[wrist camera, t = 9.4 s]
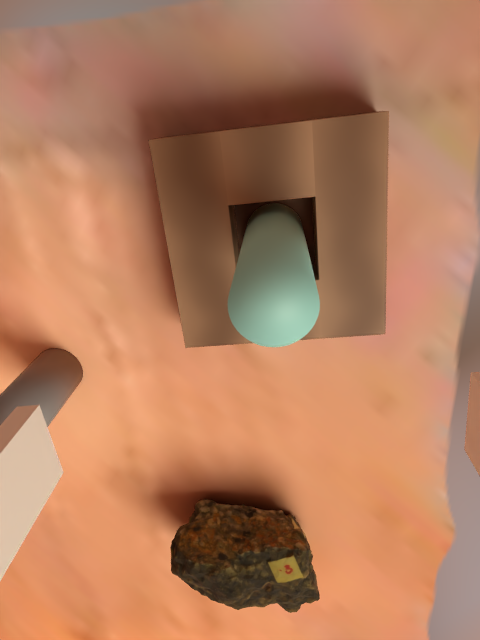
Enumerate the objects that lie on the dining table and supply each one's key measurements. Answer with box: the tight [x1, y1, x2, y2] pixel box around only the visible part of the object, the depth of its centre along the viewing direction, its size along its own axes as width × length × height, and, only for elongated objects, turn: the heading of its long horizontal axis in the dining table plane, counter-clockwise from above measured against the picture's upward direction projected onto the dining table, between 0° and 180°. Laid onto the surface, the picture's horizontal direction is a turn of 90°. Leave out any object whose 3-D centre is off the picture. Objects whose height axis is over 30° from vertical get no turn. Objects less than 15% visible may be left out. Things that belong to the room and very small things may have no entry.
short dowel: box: [0, 348, 83, 427], centre depth 36 cm, size 4×4×7 cm
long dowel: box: [228, 203, 320, 347], centre depth 26 cm, size 4×4×14 cm
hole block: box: [148, 111, 389, 348], centre depth 31 cm, size 14×14×4 cm
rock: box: [170, 499, 319, 613], centre depth 41 cm, size 12×9×8 cm
